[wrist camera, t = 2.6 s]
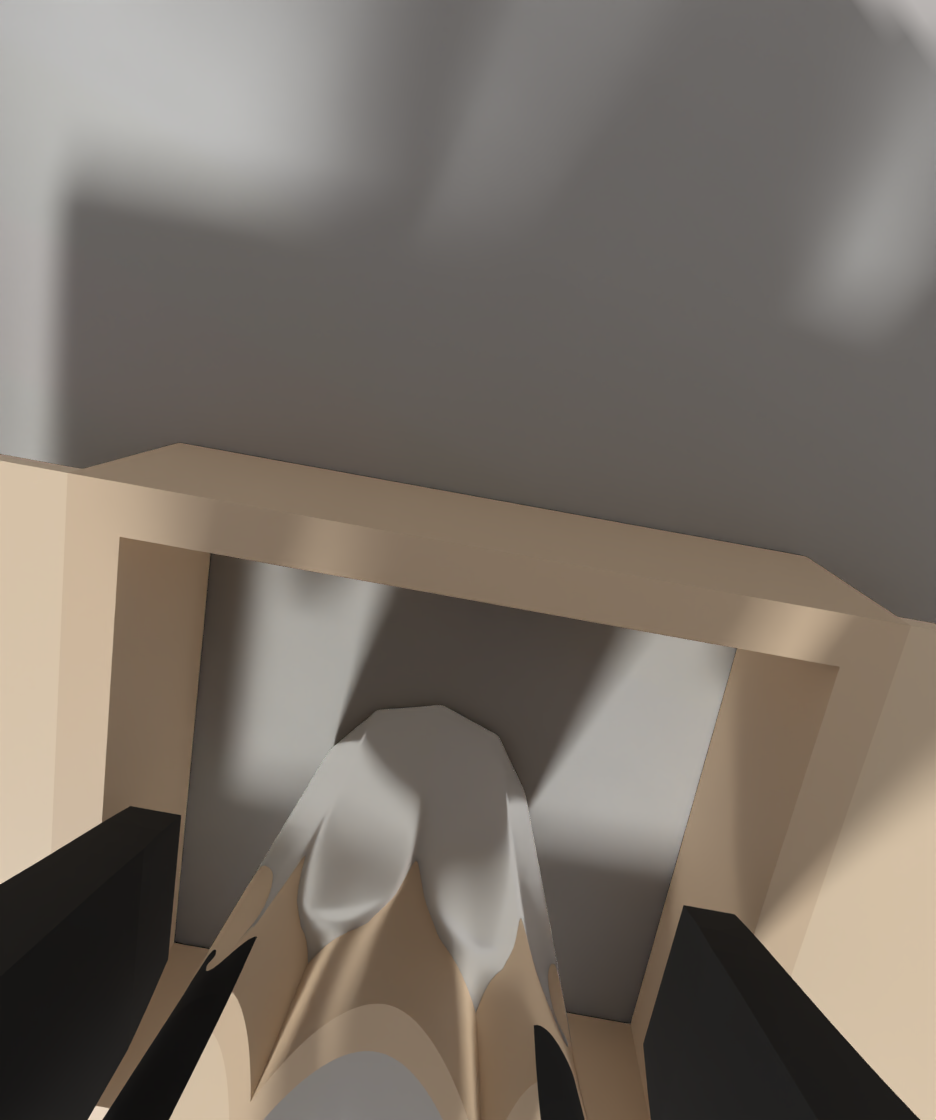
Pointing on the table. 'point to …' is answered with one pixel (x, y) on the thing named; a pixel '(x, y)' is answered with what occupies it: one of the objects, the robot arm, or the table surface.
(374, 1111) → the milkshake
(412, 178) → the table surface
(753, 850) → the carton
